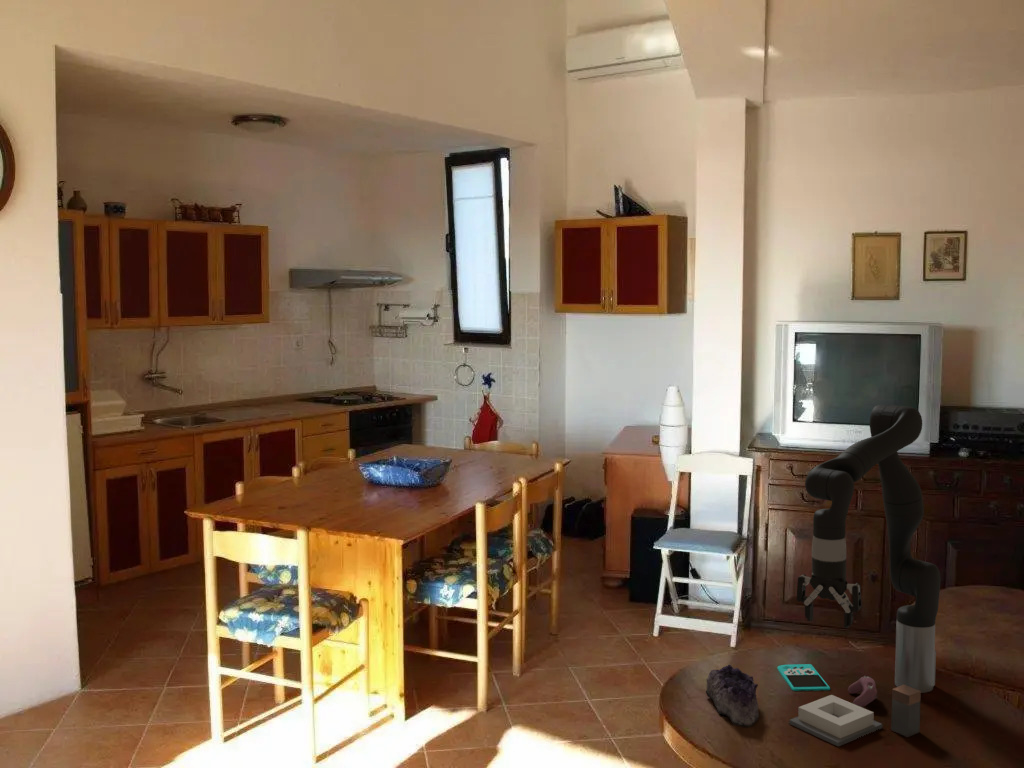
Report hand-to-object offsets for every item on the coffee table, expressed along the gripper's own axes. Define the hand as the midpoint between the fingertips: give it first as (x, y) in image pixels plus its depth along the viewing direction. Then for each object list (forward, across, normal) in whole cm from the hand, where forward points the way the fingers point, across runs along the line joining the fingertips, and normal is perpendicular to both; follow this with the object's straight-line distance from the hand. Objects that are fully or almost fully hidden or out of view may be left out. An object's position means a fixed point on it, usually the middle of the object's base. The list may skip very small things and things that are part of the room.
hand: (828, 623), depth 225 cm
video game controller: (+27, -2, -21) cm, 34 cm away
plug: (+26, -15, -10) cm, 32 cm away
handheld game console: (+27, +16, -27) cm, 41 cm away
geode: (+26, +22, +1) cm, 34 cm away
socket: (+26, -1, -4) cm, 26 cm away
